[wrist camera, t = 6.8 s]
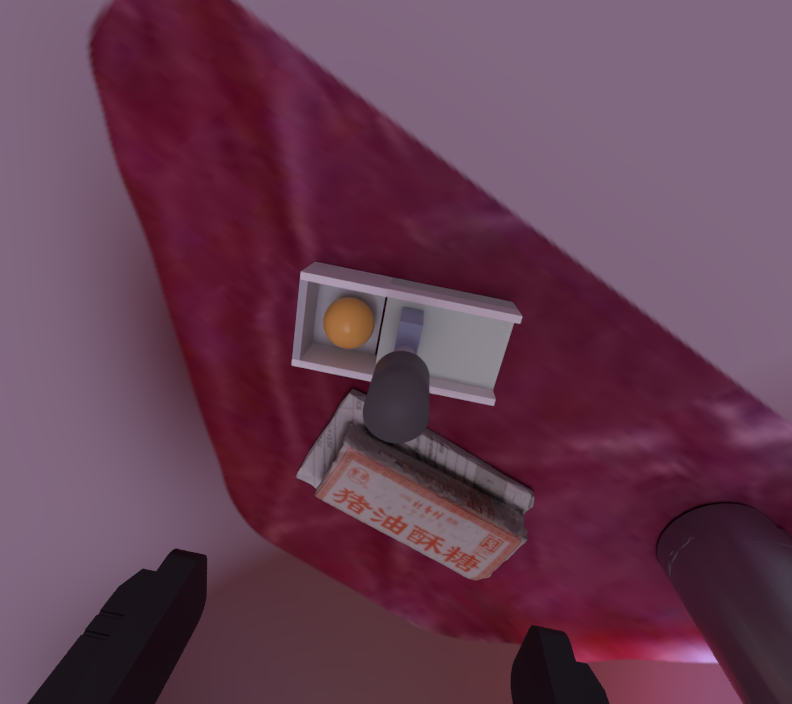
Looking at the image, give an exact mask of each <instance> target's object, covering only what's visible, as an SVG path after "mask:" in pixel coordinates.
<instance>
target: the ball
mask: <svg viewBox="0 0 792 704" xmlns="http://www.w3.org/2000/svg"><path fill="white" fill-rule="evenodd" d="M323 327H324V331H325V334H326V336H327V337H328V339H329V340H330V341H331V342H332V343H333V344H335V345H337V346H339V347H341V348H345V349H353V348H357V347H360V346H362V345H363V344H365V343H366V342H367V341H368V340H369V339H370V337H371V336H372V334H373V331H374V327H375V320H374V315H373V313H372V311H371V309H370V308H369V306H368V305H367V304H366V303H364V302H363V301H361V300H359V299H356V298H352V297H346V298H341V299H338V300H336V301H335V302H333V303H332V304H331V305H330V306H329V307H328V309H327V310H326V312H325V315H324V318H323Z"/></svg>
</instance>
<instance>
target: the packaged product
mask: <svg viewBox="0 0 792 704" xmlns="http://www.w3.org/2000/svg"><path fill="white" fill-rule="evenodd" d="M366 396H367V395H365V394H364V393H362V392H360V391H357V390H355V389H352V390H351V391H350V393H349V394H348V395H347V396H346V397H345V399H344V400H343V401H342V402H341V403H340V405H339V407H338V409H337V411H336V412H335V414H334V416H333V418H332V420H331V421H330V423H329V424H328V425H327V427H326V428H325V429H324V431H323V432H322V433H321V435H320V436H319V438H318V439H317V441H316V442H315V444H314V445H313V447H312V448H311V449H310V451H309V452H308V454H307V456H306V458H305V460H304V462H303V464H302V466H301V468H300V470H299V472H298V474H297V475H296V478H298V479H301V480H303V481H305V482H307V483H309V484H311V485H313V486H314V487H315V488H316V492H315V496H316V497H317V498H319V499H321V500H323V501H324V502H326V503H328V504H330V505H331V506H333V507H335V508H337V509H339V510H341V511H343V512H344V513H346V514H348V515H350V516H352V517H354V518H356V519H357V520H359V521H361V522H363V523H365V524H367V525H369V526H371V527H373V528H375V529H377V530H379V531H380V532H383V533H385V534H386V535H388V536H390V537H392V538H394V539H396V540H398V541H400V542H401V543H403V544H405V545H407V546H409V547H411V548H412V549H414V550H416V551H419V552H421V553H422V554H424V555H426V556H428V557H429V558H432V559H433V560H435V561H437V562H439V563H441V564H443V565H445V566H447V567H448V568H450V569H452V570H453V571H455V572H458V573H459V574H461V575H462V576H464V577H466V578H468V579H472V580H475V581H477V580H481V579H482V578H488V577H490V576H491V574H492V572H493V571H494V570H496V569H497V568H498V567H499V566H500V564H502V563H503V562H504V561H506V560H508V559H509V557H510V556H511V555H513V554H514V553H515V551H516V550H517V549H518V548H519V547H520V546H521V545H522V544H524V543H525V542H526V541H527V540H528V537H527V529H526V528H525V527H524V514H525V513H526V512H527V511H528V510H529V509H530V508H531V507H533V504H534V493H533V491H532V490H531V489H529V488H527V487H525V486H523V485H522V484H520V483H518V482H516V481H515V480H513V479H511V478H509V477H507V476H505V475H504V474H502V473H501V472H499V471H497V470H496V469H494V468H493V467H491V466H490V465H488V464H486V463H485V462H483V461H482V460H480V459H479V458H477V457H475V456H474V455H472V454H470V453H468V452H467V451H465V450H463V449H462V448H460V447H458V446H457V445H455V444H453V443H451V442H450V441H448V440H447V439H445V438H443V437H442V436H440V435H438V434H436V433H435V432H433V431H431V430H429V429H428V428H426V429H425V430H424V432H423V433H422V434H421V435H420V436H418V437H417V438H415V439H414V440H411V441H409V442H405V443H390V442H386V441H383V440H381V439H379V438H377V437H376V436H374V435H373V434H372V433H371V432H370V431H369V430H368V428H367V427H366V425H365V422H364V419H363V407H364V403H365V400H366Z"/></svg>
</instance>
